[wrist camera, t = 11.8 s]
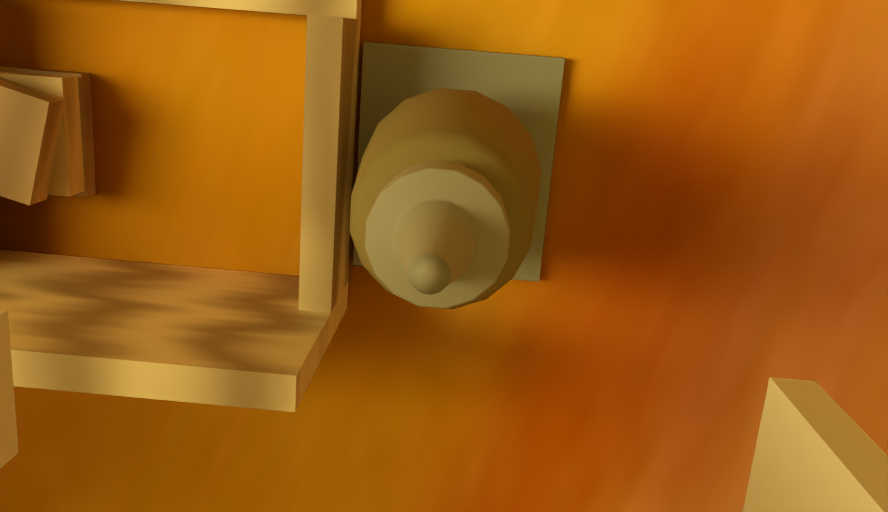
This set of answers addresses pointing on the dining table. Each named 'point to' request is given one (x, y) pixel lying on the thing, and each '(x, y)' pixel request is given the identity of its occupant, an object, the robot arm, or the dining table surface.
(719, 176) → the dining table surface
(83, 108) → the offcut bottom
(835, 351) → the dining table surface
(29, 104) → the offcut top
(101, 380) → the rack
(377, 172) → the squeeze bottle
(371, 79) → the mat
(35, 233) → the dining table surface
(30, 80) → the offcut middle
